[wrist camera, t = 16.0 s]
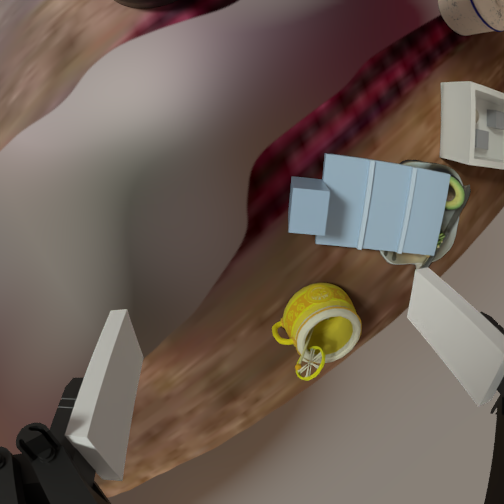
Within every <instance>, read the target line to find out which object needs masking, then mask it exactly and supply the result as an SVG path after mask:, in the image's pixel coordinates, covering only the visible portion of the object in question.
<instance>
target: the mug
mask: <svg viewBox="0 0 504 504" xmlns="http://www.w3.org/2000/svg"><path fill="white" fill-rule="evenodd" d="M281 326H282V327H283V328H285V330H286V332H287V334H288V336H289V338H290V339H284V338H281V337H280V336H279V334H278V331H277V329H278V328H279V327H281ZM361 332H362V323H361V319H360V317H359V316H358V315H357V313H356V310H355V308H354V306H353V303H352V301H351V300H350V298H349V297H348V295H347V294H346V292H344V291H343V290H342V289H341V288H340V287H338V286H336V285H333V284H329V283H315V284H311V285H308V286H306V287H304V288H302V289H301V290H299V291H298V292H296V293H295V294H294V295H293V297H292V298H291V299H290V300H289V302H288V304H287V306H286V308H285V311H284V315H283V318H281V321H280V322H277V323H276V324H275V325H273V327H272V333H273V336H274V338H275V339H276V340H277V342H279V343H280V344H286V345H291V344H294V345H295V347H296V350H297V352H298V353H299V355H300V358H299V360H298V362H297V365H296V366H295V368H296V374H297V376H298V377H299V378H300V379H302V380H307V381H308V380H311V379H313V378H314V377H316V376H317V375H318V374H319V373H320V371H321V369H322V368H323V366H324V364H325V363H328V362H333V361H335V360H337V359H339V358H342V357H344V356H345V355H346V354H347V353H348V352H350V351H351V350H352V349H353V347H354V346H355V345H356V343H357V342H358V340H359V338H360V336H361ZM302 361H305V362H308V361H309V362H308V364H310V365H313V366H314V367H316V368H317V371H316V372H315V373H314V374H313V375H311V376H310V371H311V367H310V371H309V374H308V369H309V366H310V365H308V366H307V367H308V369H307V373H306V376H305V377H304V378H303V377H302V376H301V375H300V374H301V373H302V372H303V371H304V370H305V369H306V368H307V367H306V368H305V369H303V368H304V367H305V366H306V365H307V364H306V365H305V366H304V367H302V368H301V362H302ZM310 362H312V363H310ZM313 363H321V364H320V366H318V365H315V364H313ZM302 369H303V370H302ZM301 370H302V371H301Z"/></svg>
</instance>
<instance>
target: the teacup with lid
mask: <svg viewBox="0 0 504 504" xmlns="http://www.w3.org/2000/svg"><path fill="white" fill-rule="evenodd" d="M438 7H439V10H440V13H441V15H442V17H443V19H444V21H445V22H446V23H447V25H448V26H449V27H450V28H451V29H452V30H453V31H455V32H456V33H458V34H460V35H464V36H468V35H473V34H479V33H485V32H491V31H497V32H502V31H504V0H438Z"/></svg>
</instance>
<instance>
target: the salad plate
mask: <svg viewBox="0 0 504 504" xmlns="http://www.w3.org/2000/svg"><path fill="white" fill-rule="evenodd" d="M400 164H402V165H408V166H413V167H419V168H424V169H429V170H434V171H438V172H443V173H447V174H450V182H449V188H448V194H447V199H446V204H445V210H444V215H443V219H442V224H441V229H440V233H439V237H438V242H437V246H436V250H435V254H434V256H431V255H422V254H413V253H403V252H402V254H399V253H397V252H394V251H384V250H379V251H380V254H381V255H382V256H383V258H384V259H385V260H386V261H387V262H388V263H389V264H414V265H416V269H421V268H427V267H429V266H430V264H431V263H432V262H433V261H436V260H438V259H440V258H441V257H443V256H444V255H445V254H446V253H447V252H448V251H449V249H450V248H451V247H452V245H453V243H454V239H455V236H456V231H457V226H458V221H459V215H460V213H461V211H462V208H464V206H465V204H466V202H467V200H468V198H469V195H470V192H471V190H470V185H467V186H464V185H463V184H462V181H461V179H460V177H459V175H458V174H457V173H456V172H455V171H454V170H453V169H452V168H450V167H448V166H446V165H441V164H437V163H428V162H422V161H418V160H405V161H402V162H401V163H400Z"/></svg>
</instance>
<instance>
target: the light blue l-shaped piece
mask: <svg viewBox="0 0 504 504" xmlns="http://www.w3.org/2000/svg"><path fill="white" fill-rule="evenodd" d="M449 182H450V174H447V173H443V172H438V171H434V170H429V169H424V168H419V167H413V166H408V165H402V164H397V163H391V162H385V161H379V160H372V159H366V158H359V157H351V156H344V155H336V154H328V153H325V156H324V167H323V177H322V179H313V178H303V177H293V176H292V178H291V190H290V201H289V212H288V220H289V232H290V233H301V234H311V235H316V236H315V243H316V244H324V245H334V246H344V247H354V248H357V249H359V250H362V248H364V249H374V250H384V251H394V252H397V253H399V254H402V252H403V253H413V254H422V255H431V256H434V254H435V250H436V246H437V242H438V237H439V233H440V229H441V224H442V219H443V215H444V210H445V204H446V199H447V194H448V188H449Z"/></svg>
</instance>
